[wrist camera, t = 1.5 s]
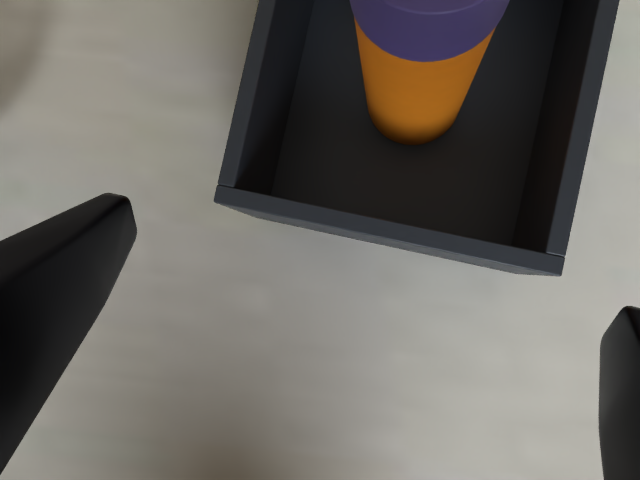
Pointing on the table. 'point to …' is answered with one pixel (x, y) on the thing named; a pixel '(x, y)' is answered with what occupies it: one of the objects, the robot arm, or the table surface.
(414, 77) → the glue stick
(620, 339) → the robot arm
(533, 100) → the organizer
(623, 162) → the table surface
